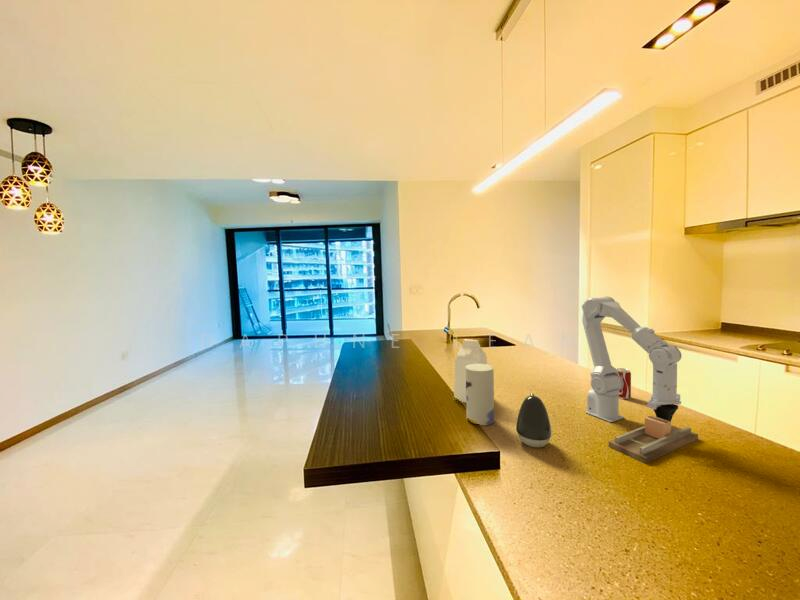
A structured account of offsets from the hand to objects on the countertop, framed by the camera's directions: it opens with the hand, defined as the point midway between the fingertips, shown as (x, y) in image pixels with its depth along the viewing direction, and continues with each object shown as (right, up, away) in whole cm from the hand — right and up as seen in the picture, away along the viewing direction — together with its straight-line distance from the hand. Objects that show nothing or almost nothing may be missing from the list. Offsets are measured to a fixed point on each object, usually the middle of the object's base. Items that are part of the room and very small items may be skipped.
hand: (663, 426), depth 98 cm
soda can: (+12, -2, +34) cm, 36 cm away
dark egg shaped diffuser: (-41, -6, 0) cm, 41 cm away
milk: (-52, -4, +38) cm, 64 cm away
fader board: (-5, -4, -2) cm, 7 cm away
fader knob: (-3, -2, -1) cm, 4 cm away
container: (-53, -5, +18) cm, 56 cm away
